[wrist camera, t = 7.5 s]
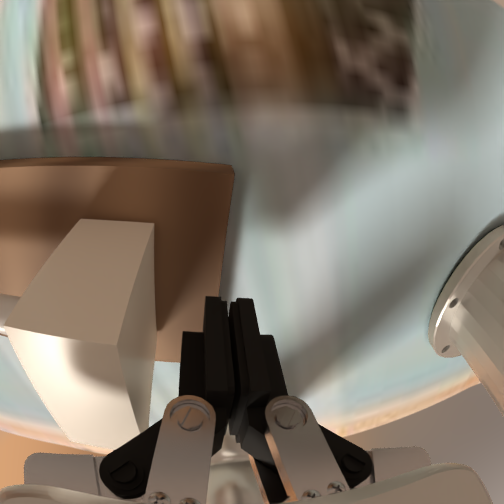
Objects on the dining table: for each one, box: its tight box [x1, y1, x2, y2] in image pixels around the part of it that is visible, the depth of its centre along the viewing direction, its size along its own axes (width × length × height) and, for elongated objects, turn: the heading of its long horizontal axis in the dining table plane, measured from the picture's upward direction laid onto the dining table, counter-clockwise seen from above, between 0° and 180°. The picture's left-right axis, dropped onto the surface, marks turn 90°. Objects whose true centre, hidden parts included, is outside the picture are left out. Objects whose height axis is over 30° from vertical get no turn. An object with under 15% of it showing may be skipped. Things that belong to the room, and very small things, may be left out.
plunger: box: [0, 219, 157, 450], centre depth 8 cm, size 10×6×6 cm, turn 81°
